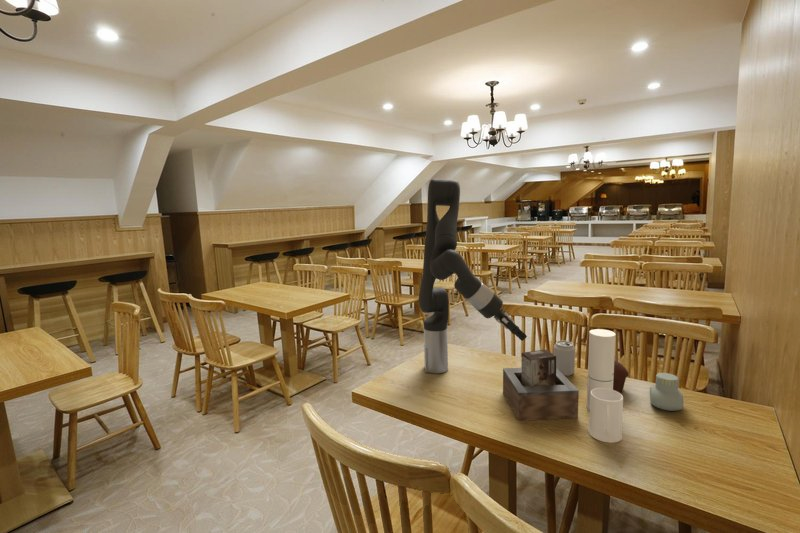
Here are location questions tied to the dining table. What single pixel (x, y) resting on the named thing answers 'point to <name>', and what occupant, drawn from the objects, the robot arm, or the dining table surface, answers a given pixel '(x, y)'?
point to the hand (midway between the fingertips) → (520, 333)
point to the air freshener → (666, 392)
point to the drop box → (540, 397)
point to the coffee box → (538, 368)
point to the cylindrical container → (600, 360)
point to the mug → (606, 415)
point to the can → (565, 357)
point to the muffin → (619, 376)
